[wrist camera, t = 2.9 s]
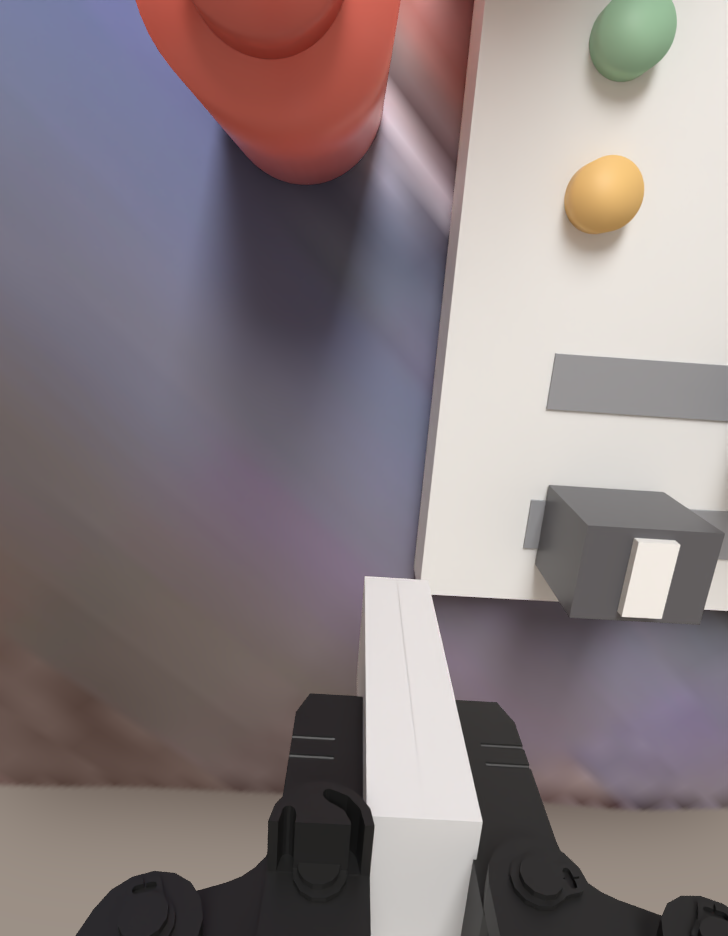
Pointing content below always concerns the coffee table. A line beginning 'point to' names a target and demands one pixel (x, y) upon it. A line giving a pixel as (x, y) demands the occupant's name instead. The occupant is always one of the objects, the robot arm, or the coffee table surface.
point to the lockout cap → (284, 75)
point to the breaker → (626, 555)
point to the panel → (580, 282)
